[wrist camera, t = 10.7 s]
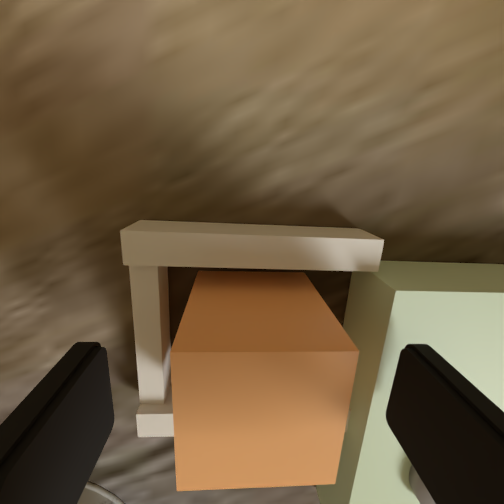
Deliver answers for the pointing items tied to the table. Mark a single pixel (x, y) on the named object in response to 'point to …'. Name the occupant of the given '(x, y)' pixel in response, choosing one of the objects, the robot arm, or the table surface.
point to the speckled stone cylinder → (97, 495)
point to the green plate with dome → (355, 324)
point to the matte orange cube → (259, 383)
